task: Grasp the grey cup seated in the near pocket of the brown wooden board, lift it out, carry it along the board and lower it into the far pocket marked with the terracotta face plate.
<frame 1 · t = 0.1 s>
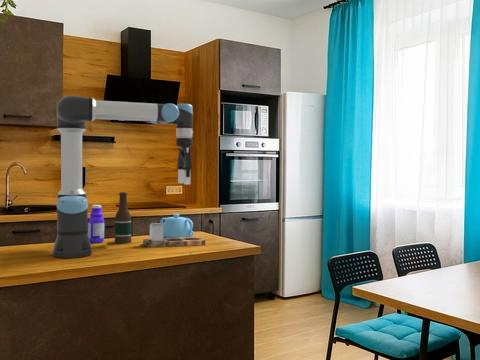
hand: (184, 183, 223), 28 cm above the table, fingers open, 13 cm apart
bottle: (96, 242, 226), on the table
brown wooden board: (174, 247, 216), on the table
beer bottle: (123, 245, 220), on the table
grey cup: (156, 245, 213), point 1 cm above the table, touching brown wooden board
teapot: (178, 239, 239), on the table
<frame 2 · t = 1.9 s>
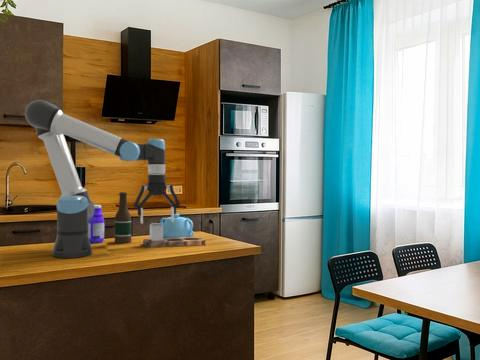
hand: (157, 222, 212), 11 cm above the table, fingers open, 13 cm apart
nothing on the table moved.
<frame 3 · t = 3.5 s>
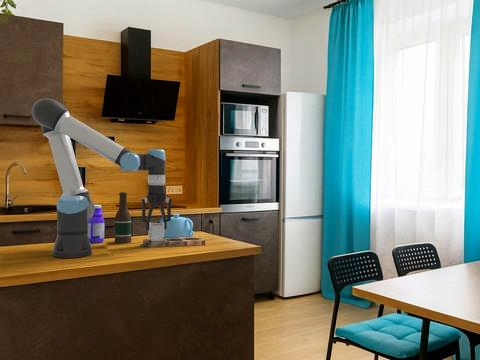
hand: (156, 237, 213), 5 cm above the table, fingers closed on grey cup, 5 cm apart
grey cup: (156, 245, 213), point 1 cm above the table, touching gripper, brown wooden board
everything else where it was.
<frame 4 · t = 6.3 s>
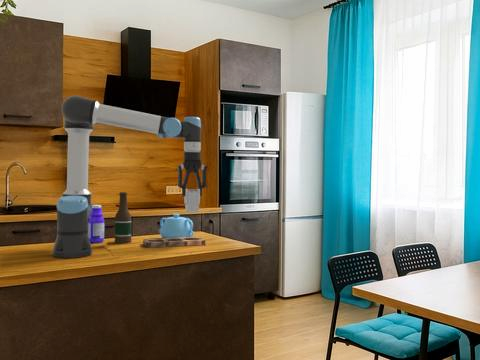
hand: (192, 203, 218), 19 cm above the table, fingers closed on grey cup, 5 cm apart
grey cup: (192, 211, 218), point 16 cm above the table, touching gripper
everything else where it was.
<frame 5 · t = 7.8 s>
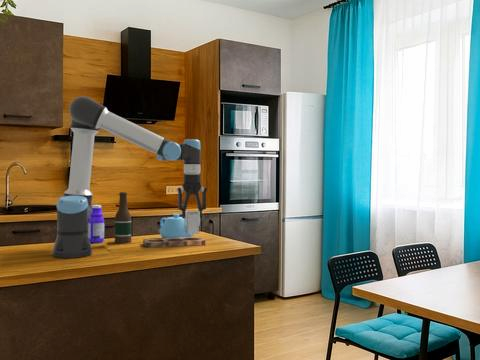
hand: (191, 225, 218), 9 cm above the table, fingers closed on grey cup, 5 cm apart
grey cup: (191, 233, 218), point 6 cm above the table, touching gripper
everything else where it was.
when the fingers open (6 cm above the table, at t = 9.2 s): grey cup drops 1 cm, resting on brown wooden board.
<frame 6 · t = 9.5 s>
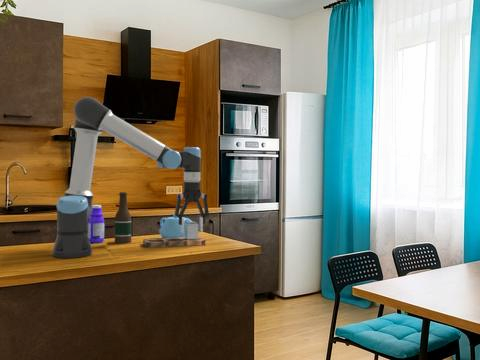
hand: (191, 231, 218), 7 cm above the table, fingers open, 8 cm apart
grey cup: (191, 243, 218), point 1 cm above the table, touching brown wooden board
everything else where it was.
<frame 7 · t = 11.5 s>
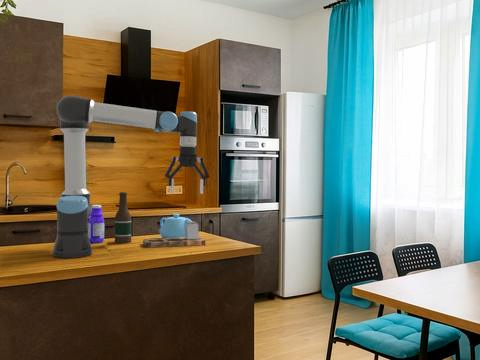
hand: (186, 193, 218), 24 cm above the table, fingers open, 13 cm apart
nothing on the table moved.
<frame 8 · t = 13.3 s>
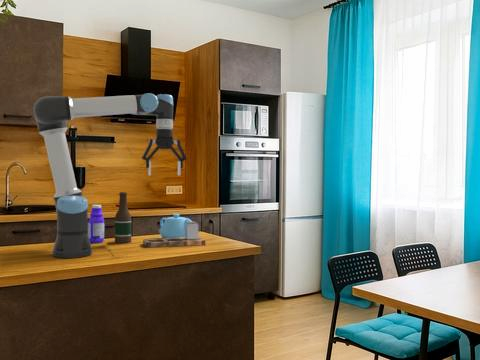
hand: (164, 175, 221), 32 cm above the table, fingers open, 13 cm apart
nothing on the table moved.
at the end: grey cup 0.1 cm from the target spot on the brown wooden board, point 1.3 cm above the brown wooden board's base; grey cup tilted 0°; the gripper is holding nothing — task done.
